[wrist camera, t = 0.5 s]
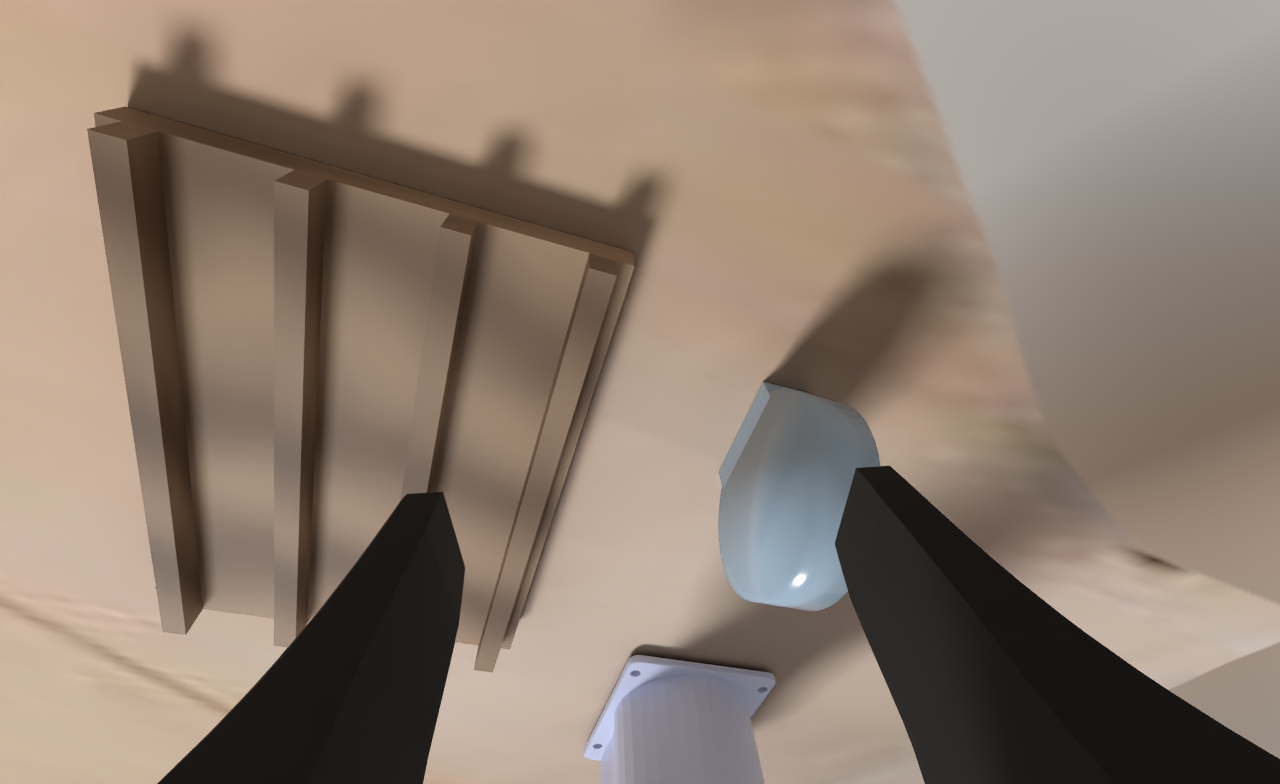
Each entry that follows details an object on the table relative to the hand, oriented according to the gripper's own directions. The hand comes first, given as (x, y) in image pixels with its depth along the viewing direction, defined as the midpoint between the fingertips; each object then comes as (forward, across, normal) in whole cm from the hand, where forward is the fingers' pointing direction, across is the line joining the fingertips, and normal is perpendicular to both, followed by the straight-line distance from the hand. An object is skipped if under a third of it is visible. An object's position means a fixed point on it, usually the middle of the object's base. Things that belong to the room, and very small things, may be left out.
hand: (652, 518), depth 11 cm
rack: (+10, +9, +6) cm, 15 cm away
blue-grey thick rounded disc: (+10, -5, +7) cm, 13 cm away
